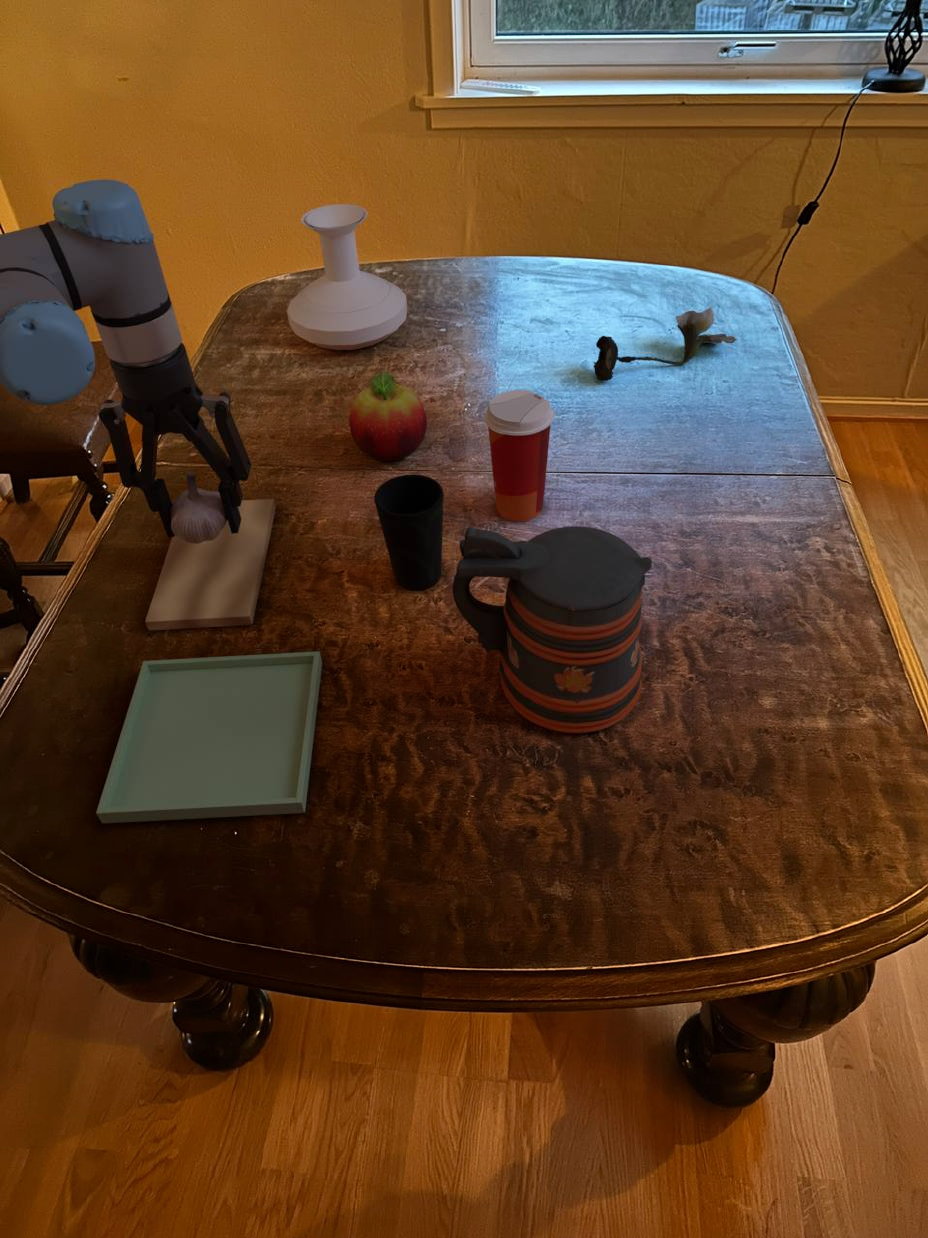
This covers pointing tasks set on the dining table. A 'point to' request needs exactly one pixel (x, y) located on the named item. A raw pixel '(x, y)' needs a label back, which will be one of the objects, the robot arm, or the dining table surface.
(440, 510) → the cup
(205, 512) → the garlic bulb
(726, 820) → the dining table surface
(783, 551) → the dining table surface
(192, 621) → the cutting board
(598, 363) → the artificial flower
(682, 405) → the dining table surface
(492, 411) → the coffee cup
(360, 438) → the fruit
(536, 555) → the beer stein
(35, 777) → the dining table surface
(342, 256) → the white vase
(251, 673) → the green square tray
